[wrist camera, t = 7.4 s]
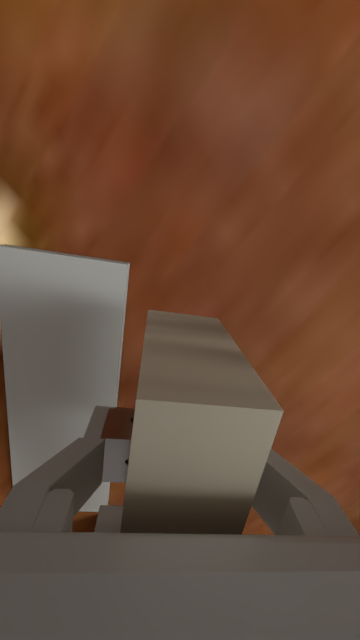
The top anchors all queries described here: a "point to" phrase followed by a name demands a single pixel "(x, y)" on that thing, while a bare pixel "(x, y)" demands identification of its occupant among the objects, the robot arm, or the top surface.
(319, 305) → the top surface
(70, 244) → the top surface
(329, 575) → the robot arm
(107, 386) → the rest mat
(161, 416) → the grey elongated block
